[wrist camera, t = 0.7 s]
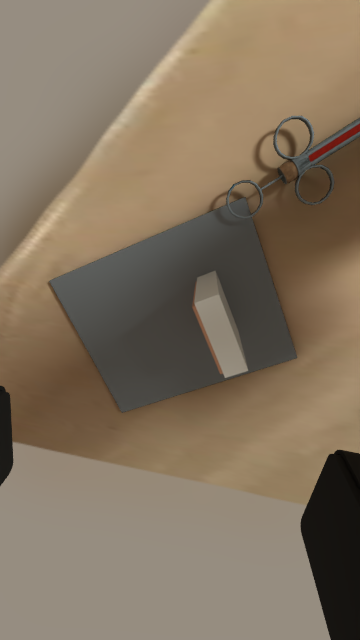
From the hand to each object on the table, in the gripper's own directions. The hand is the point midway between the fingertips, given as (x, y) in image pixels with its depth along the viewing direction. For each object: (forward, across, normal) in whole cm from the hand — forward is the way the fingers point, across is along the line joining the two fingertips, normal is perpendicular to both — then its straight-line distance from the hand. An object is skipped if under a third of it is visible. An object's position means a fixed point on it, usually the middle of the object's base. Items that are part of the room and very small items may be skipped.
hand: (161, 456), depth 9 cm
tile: (+25, -3, +3) cm, 25 cm away
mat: (+25, +1, +6) cm, 26 cm away
